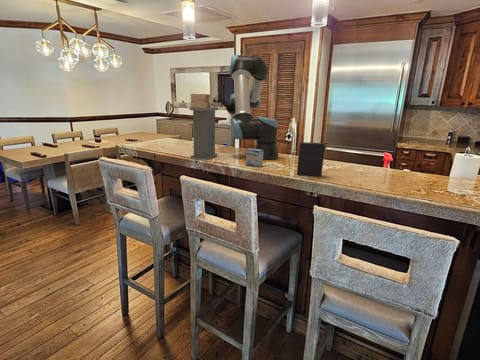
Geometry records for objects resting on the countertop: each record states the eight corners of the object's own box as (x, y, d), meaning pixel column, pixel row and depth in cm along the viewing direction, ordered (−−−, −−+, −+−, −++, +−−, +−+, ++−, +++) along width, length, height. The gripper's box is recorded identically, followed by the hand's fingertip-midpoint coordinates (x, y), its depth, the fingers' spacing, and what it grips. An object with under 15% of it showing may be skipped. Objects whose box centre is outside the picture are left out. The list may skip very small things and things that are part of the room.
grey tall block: (202, 153, 175) (202, 106, 168) (218, 155, 171) (219, 107, 164) (189, 158, 161) (188, 107, 153) (206, 160, 157) (206, 108, 149)
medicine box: (245, 165, 148) (246, 149, 146) (249, 163, 152) (250, 147, 150) (259, 167, 145) (260, 150, 143) (262, 165, 149) (263, 149, 146)
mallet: (213, 106, 177) (213, 94, 175) (225, 107, 175) (225, 95, 173) (190, 107, 153) (190, 93, 151) (204, 107, 150) (204, 94, 148)
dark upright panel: (320, 174, 135) (323, 142, 131) (321, 176, 131) (325, 144, 127) (296, 173, 136) (299, 141, 132) (297, 175, 132) (300, 143, 128)
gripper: (248, 115, 198) (242, 102, 177) (214, 112, 204) (204, 99, 183) (250, 105, 199) (244, 91, 178) (216, 102, 205) (207, 88, 184)
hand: (224, 95), depth 181 cm, fingers open, 13 cm apart
